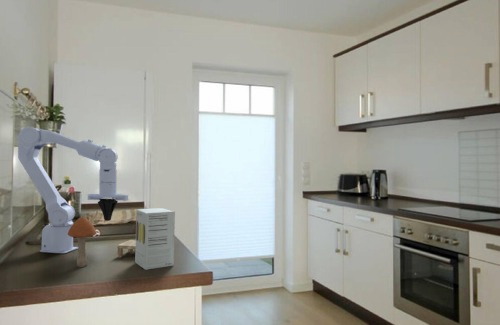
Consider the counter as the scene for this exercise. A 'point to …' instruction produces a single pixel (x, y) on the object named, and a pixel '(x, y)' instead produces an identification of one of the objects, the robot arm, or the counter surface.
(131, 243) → the footstool
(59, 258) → the counter surface
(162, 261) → the supplement box
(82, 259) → the mushroom
